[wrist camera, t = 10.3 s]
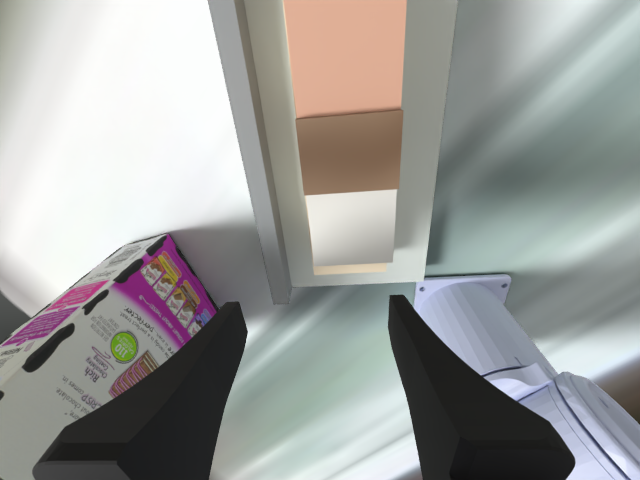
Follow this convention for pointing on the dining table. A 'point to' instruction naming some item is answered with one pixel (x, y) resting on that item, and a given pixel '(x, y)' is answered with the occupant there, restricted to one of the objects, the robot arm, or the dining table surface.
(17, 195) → the dining table surface
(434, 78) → the dock
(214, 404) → the robot arm
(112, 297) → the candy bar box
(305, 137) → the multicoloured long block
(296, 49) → the salmon pink cube
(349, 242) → the white cube
